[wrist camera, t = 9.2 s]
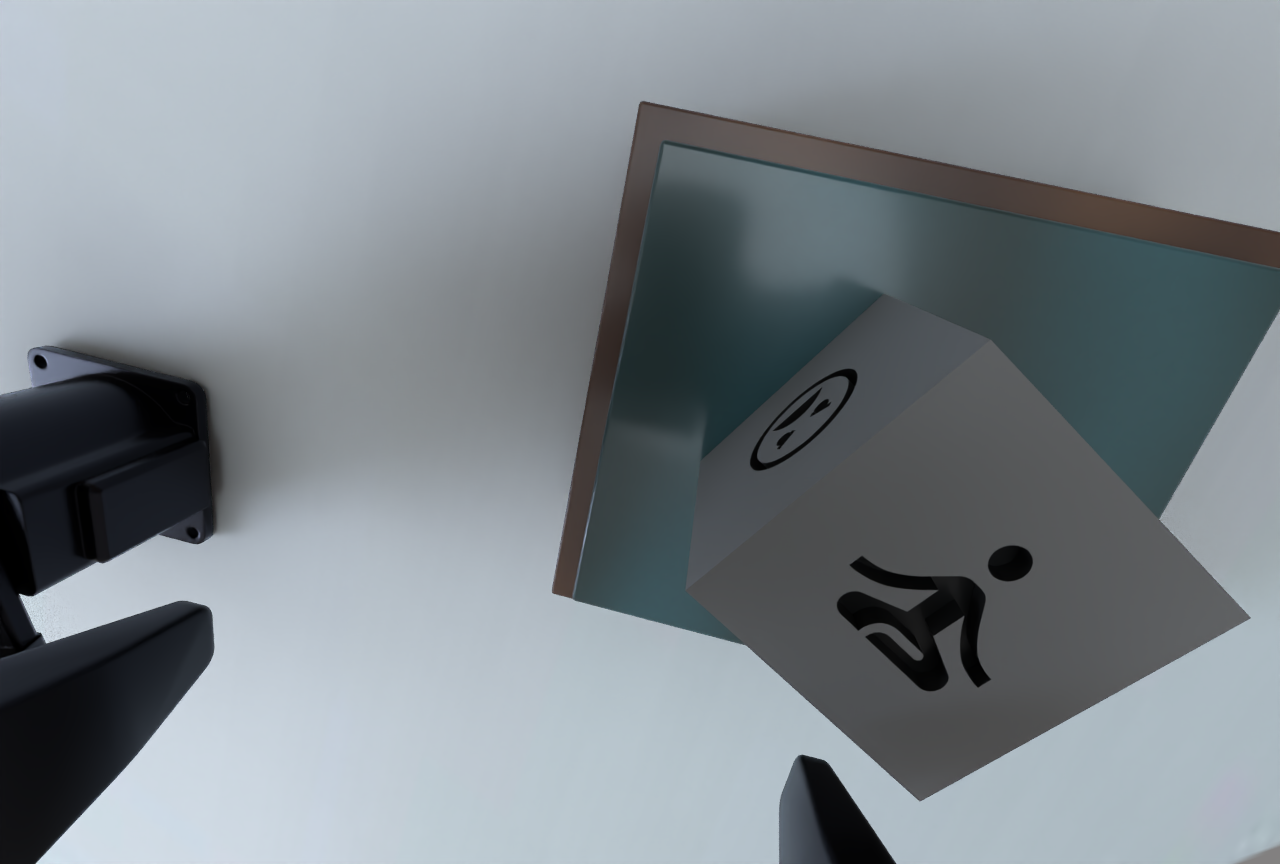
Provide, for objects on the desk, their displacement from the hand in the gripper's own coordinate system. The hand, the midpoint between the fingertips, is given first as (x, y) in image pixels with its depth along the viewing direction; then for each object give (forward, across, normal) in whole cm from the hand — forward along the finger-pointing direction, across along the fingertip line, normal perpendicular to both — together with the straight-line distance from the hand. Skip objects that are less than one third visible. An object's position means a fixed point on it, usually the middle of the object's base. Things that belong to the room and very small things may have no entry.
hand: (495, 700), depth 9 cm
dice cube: (+6, -6, -3) cm, 9 cm away
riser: (+12, -6, -3) cm, 13 cm away
